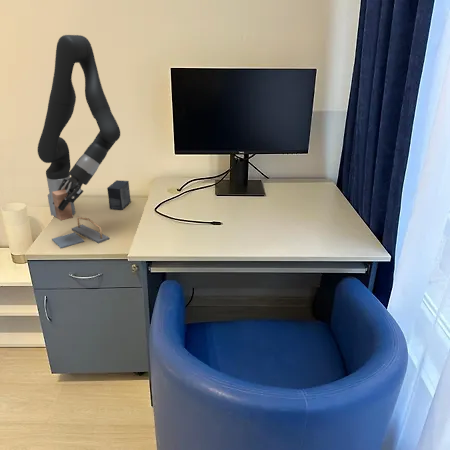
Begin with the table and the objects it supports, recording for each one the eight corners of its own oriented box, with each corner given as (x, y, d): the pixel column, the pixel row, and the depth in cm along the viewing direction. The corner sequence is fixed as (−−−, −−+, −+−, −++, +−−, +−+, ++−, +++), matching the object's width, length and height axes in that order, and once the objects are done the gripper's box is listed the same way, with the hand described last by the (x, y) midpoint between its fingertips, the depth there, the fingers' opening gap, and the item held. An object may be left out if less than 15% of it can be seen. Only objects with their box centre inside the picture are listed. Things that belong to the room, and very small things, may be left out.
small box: (118, 200, 202) (115, 179, 198) (131, 201, 201) (129, 180, 197) (108, 209, 193) (106, 187, 188) (122, 210, 192) (120, 188, 187)
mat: (60, 248, 159) (60, 247, 158) (52, 239, 165) (51, 238, 165) (84, 241, 164) (84, 240, 164) (74, 233, 170) (74, 232, 170)
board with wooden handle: (98, 244, 163) (96, 226, 160) (71, 230, 173) (69, 214, 170) (109, 239, 166) (107, 222, 163) (82, 226, 177) (80, 210, 173)
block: (60, 220, 157) (56, 195, 153) (56, 217, 160) (51, 191, 156) (72, 217, 160) (68, 192, 156) (68, 214, 163) (64, 189, 159)
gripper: (69, 159, 161) (42, 196, 159) (84, 168, 151) (56, 208, 149) (84, 170, 167) (58, 206, 165) (100, 179, 157) (73, 218, 155)
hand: (57, 207), depth 157 cm, fingers closed on block, 4 cm apart
